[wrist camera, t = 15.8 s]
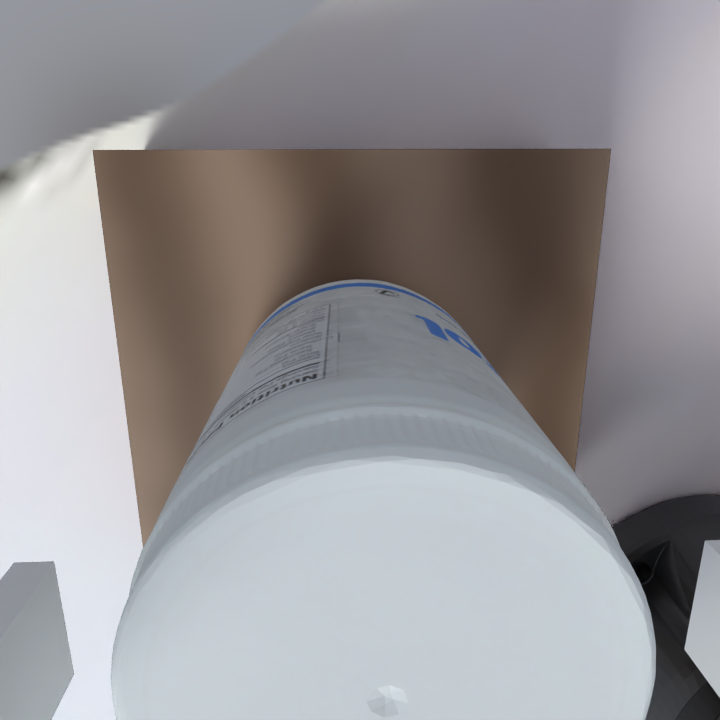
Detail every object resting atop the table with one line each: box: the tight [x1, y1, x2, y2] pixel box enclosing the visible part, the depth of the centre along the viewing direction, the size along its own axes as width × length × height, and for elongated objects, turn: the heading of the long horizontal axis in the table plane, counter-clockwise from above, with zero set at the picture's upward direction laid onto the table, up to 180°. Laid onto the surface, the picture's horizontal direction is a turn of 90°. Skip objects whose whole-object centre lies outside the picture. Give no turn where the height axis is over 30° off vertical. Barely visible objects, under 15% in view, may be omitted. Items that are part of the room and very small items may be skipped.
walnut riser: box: [93, 149, 611, 547], centre depth 27 cm, size 18×18×6 cm
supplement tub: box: [111, 279, 656, 720], centre depth 17 cm, size 10×10×15 cm
